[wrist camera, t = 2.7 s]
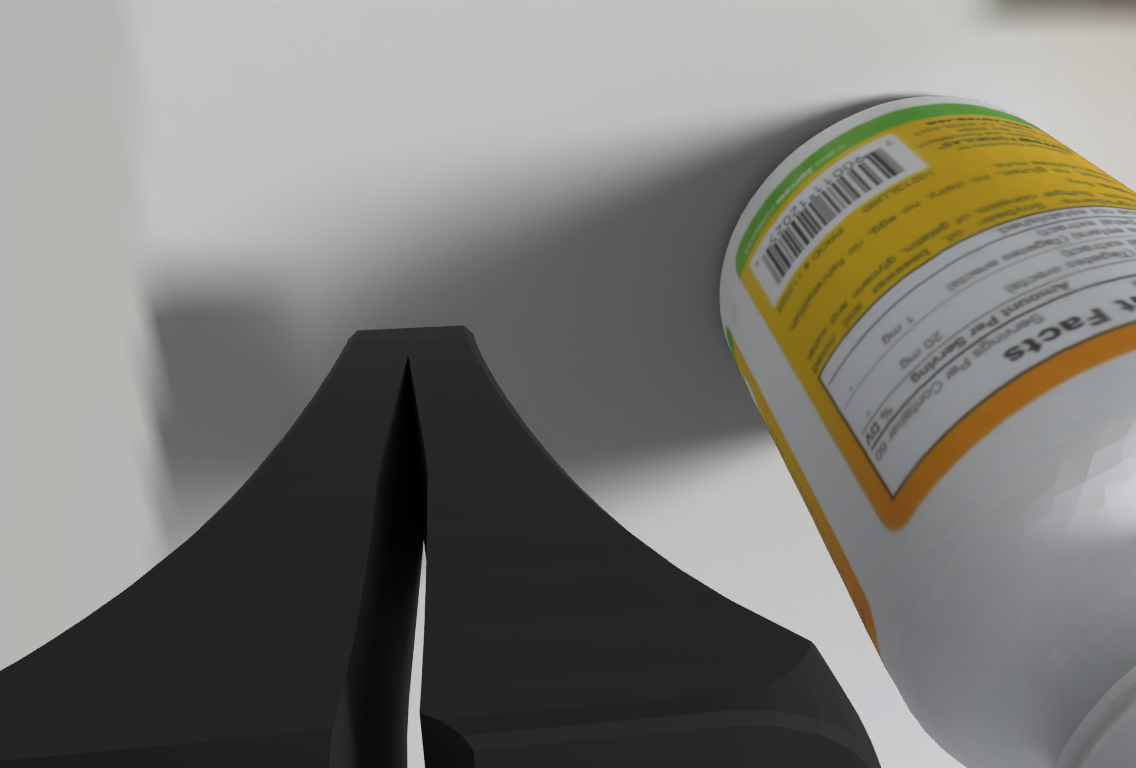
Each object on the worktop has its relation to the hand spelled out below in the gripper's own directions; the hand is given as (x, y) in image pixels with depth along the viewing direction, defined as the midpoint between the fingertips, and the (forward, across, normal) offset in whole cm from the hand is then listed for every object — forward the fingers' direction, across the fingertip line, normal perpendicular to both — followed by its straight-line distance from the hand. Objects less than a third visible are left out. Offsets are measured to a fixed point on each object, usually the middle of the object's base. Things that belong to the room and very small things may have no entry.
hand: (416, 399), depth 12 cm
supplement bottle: (+3, -7, 0) cm, 8 cm away
